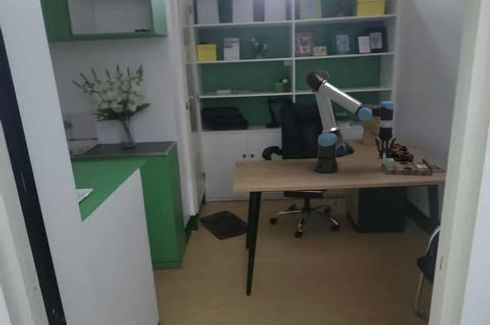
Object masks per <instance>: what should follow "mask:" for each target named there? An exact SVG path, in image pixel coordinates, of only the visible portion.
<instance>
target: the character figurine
mask: <svg viewBox="0 0 490 325" xmlns="http://www.w3.org/2000/svg"><path fill="white" fill-rule="evenodd" d="M388 150H389V147H388ZM384 153H385V147H384ZM378 156H379V157H380V158H381V153H379V152H378ZM387 158H390V159H394V162H414V154H412V153H411V152H409V148H407V147H406V145H402V144H400V143H394V144H393V147H392V150H391V152H390V153H388V156H387Z"/></svg>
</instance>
